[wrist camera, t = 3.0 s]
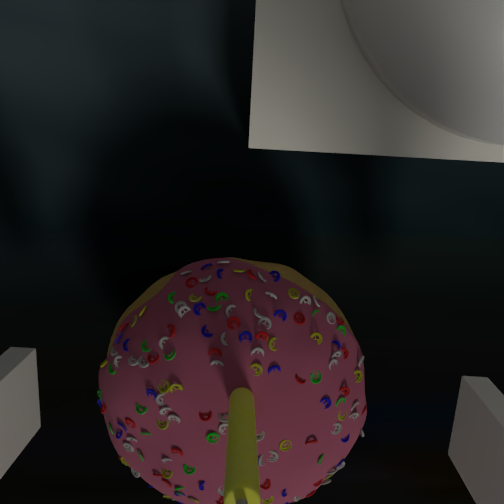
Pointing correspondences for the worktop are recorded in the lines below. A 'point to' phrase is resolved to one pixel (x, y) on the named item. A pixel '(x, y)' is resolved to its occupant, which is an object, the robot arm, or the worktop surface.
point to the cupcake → (233, 385)
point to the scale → (380, 78)
